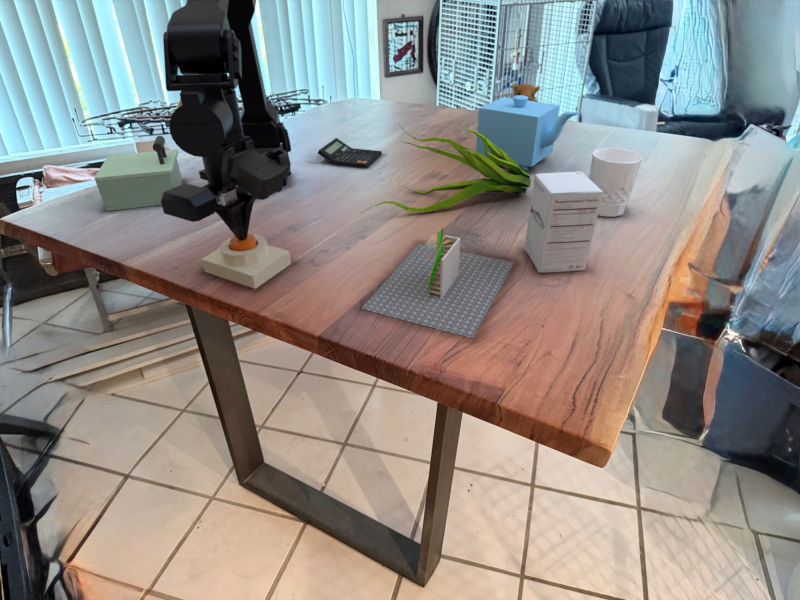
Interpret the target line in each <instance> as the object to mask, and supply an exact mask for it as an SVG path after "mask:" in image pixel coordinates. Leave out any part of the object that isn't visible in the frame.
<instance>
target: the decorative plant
mask: <svg viewBox="0 0 800 600" xmlns="http://www.w3.org/2000/svg"><path fill="white" fill-rule="evenodd" d="M459 125H460V126H461V128H462V129H463V130H465V131H468V132H470V133H471V134H474V135H475V136H476V137H477V136H479V137H480V138H481V139H482V140H483V142H484V154H485V156H486V157H485V156H484V155H482V154H481V153H479V152H478V151H476V150H474V151H473V150H470V149H469V148H467V147H465V146H464V145H462V144H459V143H458V142H456V141H454V140H452V139H450V138H442V137H437V136H436V137H429V138H424V139H421V138H416V137H415V136H413V135H411V134H410V133H408V132H406V130H404V128H403V127H402V126H401V125H400V124H398V126H399V127H400V128H401V129H402V130H403V132H404V133H406V135H408V136H410V137H411V138H412V139H413V140H415V141H419V142H422V143H423V142H424V143H425V142H435V141H436V142H440V143H446V144H450V146H452V147H453V148H448V150H450V151H451V150H452V151H457V152H458V153H459V154H457V153H453V152H449V151H446V150H444V149H443V150H442V149H439V148H435V147H431V146H428V145H417V144H415V143H411V142H406V141H403V140H401V139H399V141H400V142H402V144H403V143H404V144H408V145H412V146H413V147H415V148H418V149H423V150H427V151H430V152H433V153H436V154H438V155H442V156H445V157H448V158H450V159H452V160H456V161H458V162H459V163H461V164H464V165H465V166H468V167H469V168H470V169H473V170H475V171H477V172H478V173H479V174H481V175H482V176H483V177H484V178H476V179H470V180H464V181H458V182H453V183H448V184H444V185H439V186H438V185H437V186H435V187H433V188H431V189H429V190H426V191H418V190H413V189H410V188H407V187H405V186H404V187H403V188H404V189H407V190H409V191H411V192H415V193H419V194H421V195H422V194H423V195H424V194H430V193H433V192H437V191H438V192H439V191H441V192H442V191H444V192H445V191H455V190H456V191H457V190H460V191H458V192H456V193H455V194H453V195H451V196H449V197H448V198H445V199H443V200H440V201H438V202H436V203H433V204H430V205H428V206H425V207H413V206H406V205H404V204H401V203H399V202H397V201H382V202H380V203H377V204H374V205H371V206H369V207H368V208H366V209H364V210H363V211H361V212H360V214H363V213H364V212H366V211H368V210H369V209H371V208H374V207H377V206H380V205H381V206H382V205H384V204H390V205H394V206H397V207H399V208H401V209H403V210H404V211H407V212H415V213H422V214H426V213H429V212H434V211H439V210H443V209H447V208H449V207H451V206H454V205H456V204H458V203H460V202H463V201H465V200H468V199H470V198H472V197H475V196H478V195H481V194H483V193H504V192H505V193H510V194H514V195H518V196H520V195H521V196H522V194H526V192H527V190H528V188H530V187H531V181H532V180H531V176H530V174H529V173H530V169H527V170H526V169H523V168H521V167H520V166H519V165H518V164H517V163H516V162H515V160H514V159H511V158H510V157H509V156H508V155H507V154H506V153H505V152H504V151H503V150H501V149H500V148H498V147H497V146H495V145H494V144H493V143H492V142H491V141H490V140H489V139H487V137H486V135H485V133H483V132H482V131H481V132H482V133H483V134H484V135H485V136H483V135H482V134H480V133H478V128H475V127H473V129H468V128H465V127H463V126H462V124H460V123H459ZM475 130H476V131H475ZM479 131H480V130H479ZM487 147H488V149H489V150H490V152H491V153H492V154H493V155H492V154H490V153H488V151H487ZM487 157H488V158H487ZM495 163H496V164H497V165H496V164H495ZM500 166H501V167H500ZM502 167H504V168H506V169H507V170H508V171H506V170H504V169H502Z"/></svg>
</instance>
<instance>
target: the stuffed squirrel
mask: <svg viewBox="0 0 800 600" xmlns="http://www.w3.org/2000/svg"><path fill="white" fill-rule="evenodd" d="M511 88H512V92H513V97H514V96H517V95H523V96H527V97H528V101H535V102H539V100H538V99H537V97H536V94H537V93H538V91H539V90H541V86H540V85H537V86H534V85H532V84H527V83H521V84H519V85H517V84H516V83H513V84H511Z"/></svg>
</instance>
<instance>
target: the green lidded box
mask: <svg viewBox="0 0 800 600" xmlns="http://www.w3.org/2000/svg"><path fill="white" fill-rule="evenodd" d="M182 182H183V177H182V173H181V170H180V166H179V162H178V158H177V159H176V163H175V166H174V170H173V173H172V174H166V175H156V176H146V177H136V178H126V179H116V180H106V181H95V184H96V187H97V189H98V192H99V195H100V197H101V201H102V204H103V205H104V208H105V211H106V212H110V211H119V210H120V211H121V210H129V209H138V208H146V207H155V206H162V204H161V196H162V195H163V193H164V192H165V191H168V190H170V189H172V188H175V187H177V186H179V185H182V184H183V183H182Z"/></svg>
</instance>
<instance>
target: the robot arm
mask: <svg viewBox="0 0 800 600" xmlns="http://www.w3.org/2000/svg"><path fill="white" fill-rule="evenodd" d="M256 3H257V0H186V2H185V5H184V6H181V7H179V8H178V9H175V11H173V12H172V13H171V16H170V18H169V21H168V22H167V25H166V31H164V32H163V36H162V37H163V38H162V41H163V58H164V59H163V60H164V75H165V76H164V77H165V89H166V91H167V92H179V98H180V101H181V102H180V104H179V106H178V107H176V109H174V111H173V112H172V114H171V115H170V119H169V127H168V129H169V134H170V136H171V139H172V140H173V141H174V143H175V145H176V146H177V147H178V148H179V149H180V150H181V151H183V152H184V153H185V154H188V155H191V156H194V157H198V158H201V159H202V163H203V169H200V170H199V171H198V174H199V178H200V179H201V180H204V181H207V184H205V185H203V186H198V185H194V184H190V183H186V182H185V183H181V185H179V186H177V187H175V188H172V189H170V190H168V191H165V192H164V193H163V195H162V196H161V204H162V205H161V207H162V211H163V214H165V215H167V216H171V217H175V218H178V219H181V220H184V221H189V222H191V223H194V222H201V221H202V220H204V219H206V218H208V217H210V216H212V215H214V214H217V215H218V216H219V217H220V219H221V220H222V221H223V222H224V223H225V225H226V226H227V227H228V229H229V230H230V231H231V233H232V234H233V235H234V236H236V237H237V239H239V240H242V241H243V240H245V239H246V238H247V234H249V227H250V222H251V216H252V211H253V207H254V204H255V202H256V201H257V200H259V201H264V200H267V199H269V197H270V196H272V195H275V193H280V192H281V191H282V190H283V187H286V186H287V185H288V177H290V176H291V175H292V171H291V166H292V165H291V160H290V156H289V153H290V152H292V146H291V145H292V144H291V139H290V134H289V132H288V129H287V128H286V127H285V124H284V122H283V121H281V120H280V115H279V111H278V109H277V108H276V107H275V106H274V105H273V104H272V103H271V102H270V101H269V100H268V99H267V94H266V88H265V84H264V79H263V74H262V70H261V64H260V60H259V53H258V49H257V44H256V39H255V35H254V30H253V24H252V20H253V17H254V14H255V12H256V6H257V5H256ZM179 73H180V74H179ZM237 87H238V90H239V95H240V98H241V102H242V107H241V111H240V108H239V107H240V106H239V102H238V97H237V91H236V88H237Z"/></svg>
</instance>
